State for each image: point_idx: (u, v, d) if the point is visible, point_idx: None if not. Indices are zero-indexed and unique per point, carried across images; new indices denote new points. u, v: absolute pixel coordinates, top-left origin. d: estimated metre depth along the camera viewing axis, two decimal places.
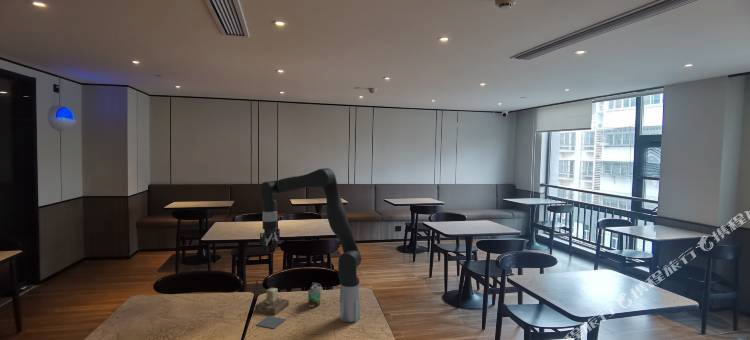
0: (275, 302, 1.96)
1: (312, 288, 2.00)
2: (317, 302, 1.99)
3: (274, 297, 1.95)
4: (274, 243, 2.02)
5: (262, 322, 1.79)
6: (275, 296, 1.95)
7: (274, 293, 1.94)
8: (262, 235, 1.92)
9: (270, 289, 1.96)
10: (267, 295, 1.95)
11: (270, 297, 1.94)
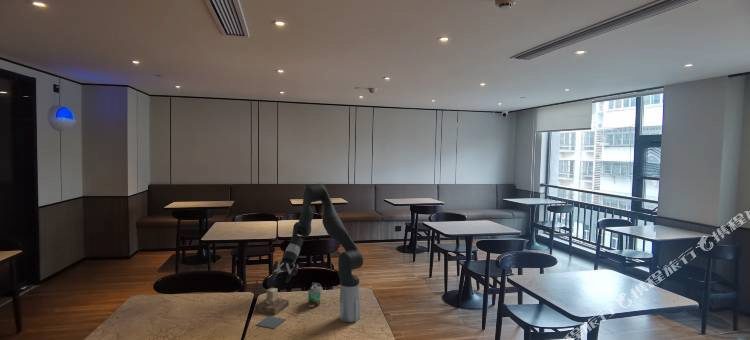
0: (275, 302, 1.96)
1: (312, 288, 2.00)
2: (317, 302, 1.99)
3: (274, 297, 1.95)
4: None
5: (262, 322, 1.79)
6: (275, 296, 1.95)
7: (274, 293, 1.94)
8: None
9: (270, 289, 1.96)
10: (267, 295, 1.95)
11: (270, 297, 1.94)
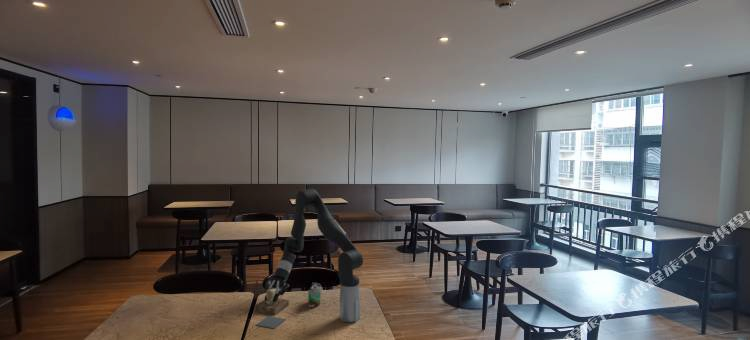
0: (275, 302, 1.96)
1: (312, 288, 2.00)
2: (317, 302, 1.99)
3: None
4: None
5: (262, 322, 1.79)
6: None
7: (274, 292, 1.94)
8: None
9: (270, 289, 1.96)
10: (267, 295, 1.95)
11: (270, 297, 1.94)
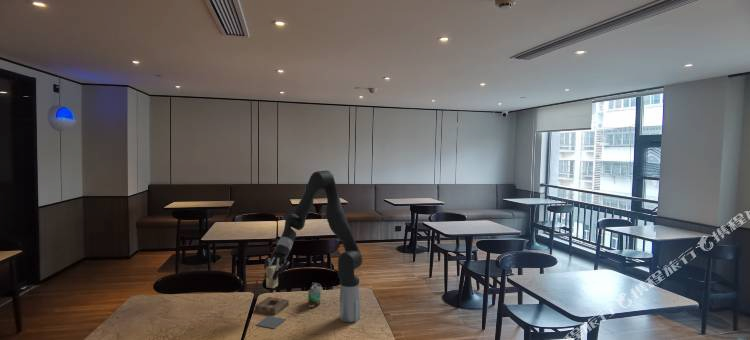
0: (275, 280, 1.86)
1: (312, 288, 2.00)
2: (317, 302, 1.99)
3: None
4: None
5: (262, 322, 1.79)
6: None
7: (274, 269, 1.85)
8: None
9: (270, 266, 1.86)
10: (267, 272, 1.85)
11: (270, 274, 1.84)
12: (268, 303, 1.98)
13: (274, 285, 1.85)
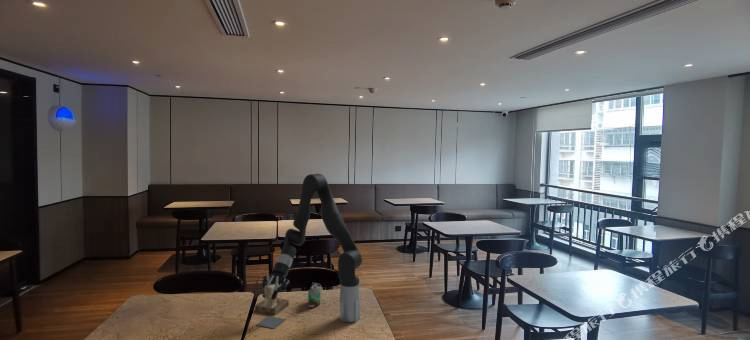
0: (274, 299, 1.79)
1: (312, 288, 2.00)
2: (317, 302, 1.99)
3: None
4: None
5: (262, 322, 1.79)
6: None
7: (273, 289, 1.78)
8: None
9: (269, 285, 1.79)
10: (265, 292, 1.78)
11: (269, 294, 1.77)
12: None
13: (273, 305, 1.78)
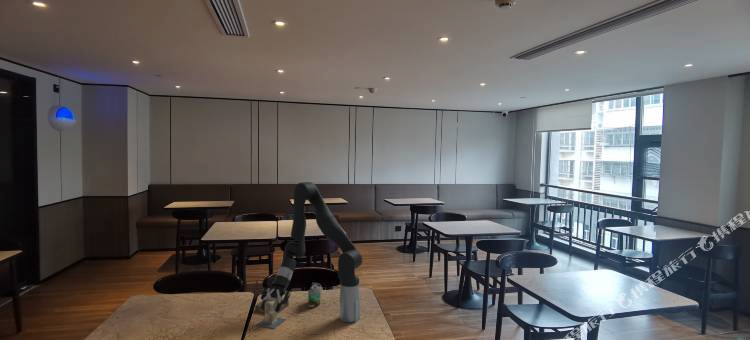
0: (274, 315, 1.79)
1: (312, 288, 2.00)
2: (317, 302, 1.99)
3: (273, 309, 1.79)
4: None
5: (262, 322, 1.79)
6: (274, 308, 1.79)
7: (273, 305, 1.78)
8: None
9: (269, 301, 1.80)
10: (266, 308, 1.78)
11: (269, 310, 1.78)
12: None
13: (273, 321, 1.79)
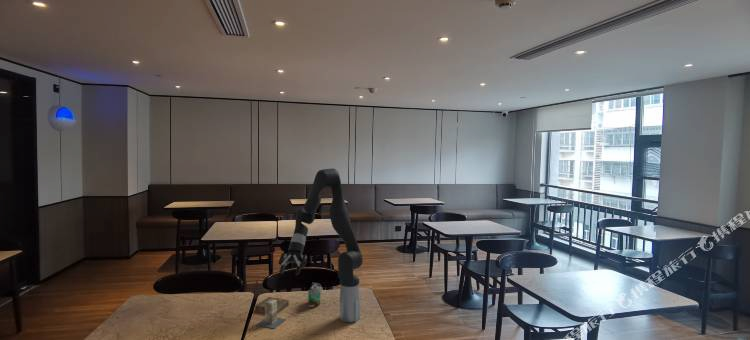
0: (274, 315, 1.79)
1: (312, 288, 2.00)
2: (317, 302, 1.99)
3: (273, 309, 1.79)
4: None
5: (262, 322, 1.79)
6: (274, 308, 1.79)
7: (273, 305, 1.78)
8: None
9: (269, 301, 1.80)
10: (266, 308, 1.78)
11: (269, 310, 1.78)
12: None
13: (273, 321, 1.79)
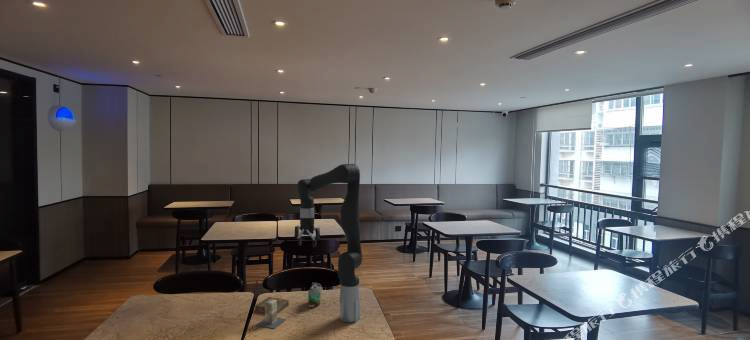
0: (274, 315, 1.79)
1: (312, 288, 2.00)
2: (317, 302, 1.99)
3: (273, 309, 1.79)
4: None
5: (262, 322, 1.79)
6: (274, 308, 1.79)
7: (273, 305, 1.78)
8: None
9: (269, 301, 1.80)
10: (266, 308, 1.78)
11: (269, 310, 1.78)
12: None
13: (273, 321, 1.79)
